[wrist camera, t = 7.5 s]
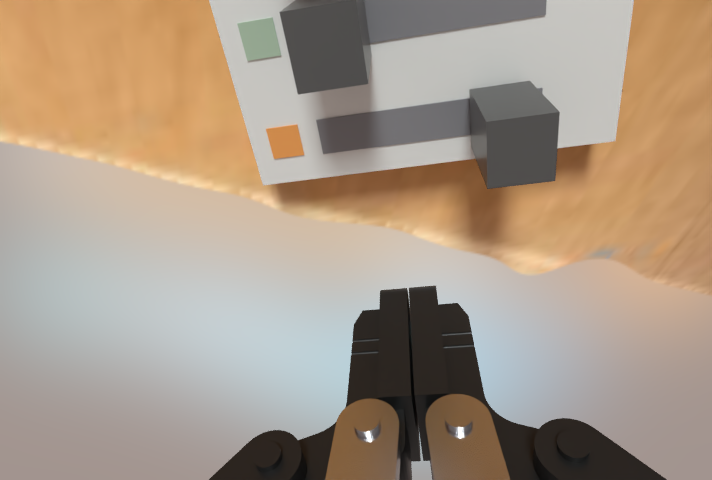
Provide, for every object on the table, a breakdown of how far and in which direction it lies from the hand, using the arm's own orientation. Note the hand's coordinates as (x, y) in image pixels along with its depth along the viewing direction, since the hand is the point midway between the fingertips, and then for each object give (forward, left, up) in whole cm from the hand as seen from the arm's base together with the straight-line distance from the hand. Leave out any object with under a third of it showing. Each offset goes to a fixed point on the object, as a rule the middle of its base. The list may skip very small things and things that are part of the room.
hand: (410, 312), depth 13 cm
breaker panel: (-2, -5, -19) cm, 19 cm away
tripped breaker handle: (-5, 0, -15) cm, 16 cm away
